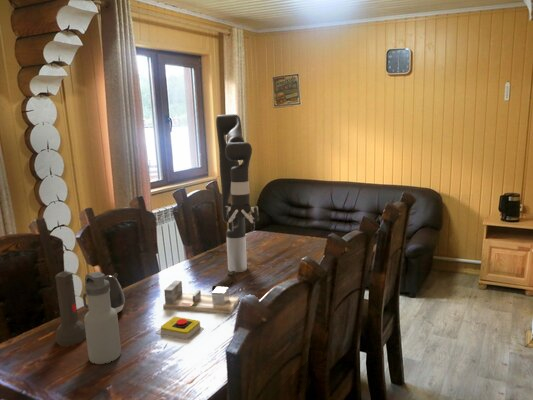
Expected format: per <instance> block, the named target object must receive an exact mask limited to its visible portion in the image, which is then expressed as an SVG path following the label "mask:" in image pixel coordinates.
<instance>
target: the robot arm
mask: <svg viewBox="0 0 533 400" xmlns="http://www.w3.org/2000/svg"><path fill="white" fill-rule="evenodd" d="M215 126H216V134H217V143H218V155H219V157H218V158H219V175H220V183H221V184H220V185H221V217H222V220H223V222H224V223H228V229H227V230H226V232H225V234H226V252H227V253H226V254H227V269H228V272H229V273H230V272H231V271H235V273H243V272H246V271H247V269H248V267H247V266H248V264H247V245H246V243H247V242H246V240H247V239H246V219H247V220H248V221H249V222H250V224H249V225H250V233H253V232H254V231H255V229H256V225H255V224H256V223H257V222H259V220H260V215H259V214H260V213H259V206H258V205H256V206H251V195H250V192H251V191H250V184H249V183H250V182H249V169H250V168H249V167H250V161H251V158H252V154H253V153H252V152H253V148H252V145H251V144H250V143H249V142H247V141H245V140H244V137H243V131H242V130H243V129H242V121H241V118H240V116H239V115H238V114H235V113H234V114H233V113H231V114H218V115H216V119H215ZM225 136H226V137H225ZM239 161H242V162H241V163H240V162H239ZM230 198H231V199H230ZM230 200H231V203H230ZM251 211H252V213H253V215H254V217H253V215H252V213H251ZM234 223H237V225H235V226H234Z"/></svg>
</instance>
